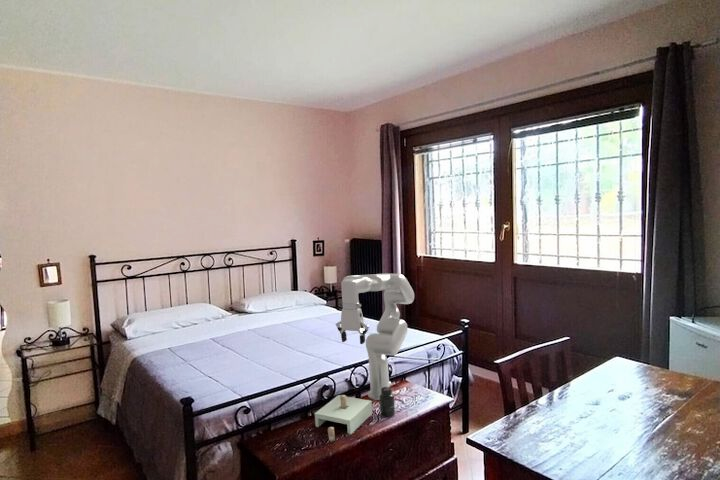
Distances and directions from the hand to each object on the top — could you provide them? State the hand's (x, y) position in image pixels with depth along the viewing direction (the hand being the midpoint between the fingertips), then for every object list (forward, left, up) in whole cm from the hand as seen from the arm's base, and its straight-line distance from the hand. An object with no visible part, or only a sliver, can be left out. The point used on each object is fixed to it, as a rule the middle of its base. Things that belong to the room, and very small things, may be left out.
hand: (353, 342), depth 201 cm
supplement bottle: (-3, +14, -34) cm, 36 cm away
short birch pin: (+26, +2, -33) cm, 42 cm away
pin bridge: (+9, -2, -33) cm, 35 cm away
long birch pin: (+9, -2, -33) cm, 35 cm away
